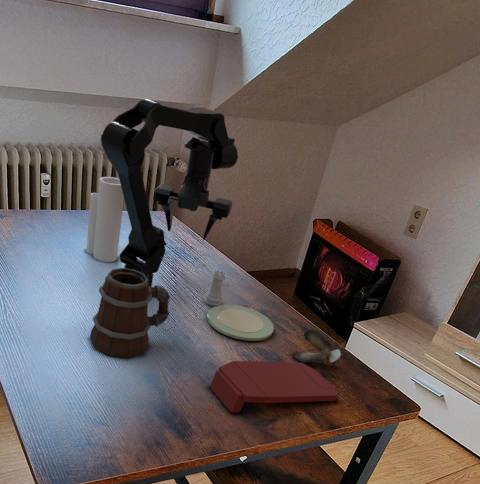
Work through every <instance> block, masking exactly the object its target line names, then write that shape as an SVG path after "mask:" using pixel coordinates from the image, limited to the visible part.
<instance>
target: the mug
mask: <svg viewBox="0 0 480 484" xmlns="http://www.w3.org/2000/svg"><path fill="white" fill-rule="evenodd" d="M98 292H99V294H100V296H101V298H100V301H99V307H98V311H97V313H96V314H95V315H94V316H92V321H93V323H94V325H93V327H92V328H91V331H90V336H89V337H90V341H91V343H92V345H93V348H94V349H96V350H98V351H100V352H102V353H103V354H104V355H106V356H109V357H116V358H124V359H125V358H126V359H129V358H132V357H136V356H140V355H143V354H144V352H145V350H146V349H147V348H148V346H149V340H150V338H149V334H148V332H149V330H150V329H151V327H153V326H155V327H159V326H161V325H162V324H163V323H165V322H166V320H167V319H168V318H169V315H170V311H169V300H170V299H171V297H170V294H169V292H168V291H167V289H166V288H165V287H163V286H162V285H158V284H156V285H154V286H153V287H150V286H149V283H148V279H147V278H146V276H145V275H144V274H143V273H141V272H139V271H136V270H134V269H127V268H124V267H119V268H112V269H111V270H110V271H109V272H108V273H107V275H106V276H105V279H104V281H103V284H102V285H101V286H100V287H99V288H98ZM153 298H155V299H156V300H157V301H158V309H157V310H156V313H154V314H153V313H152V315H151V316H149V315H148V311H149V303H150V302H151V301H152V299H153Z"/></svg>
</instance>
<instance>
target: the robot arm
mask: <svg viewBox="0 0 480 484" xmlns="http://www.w3.org/2000/svg"><path fill="white" fill-rule="evenodd" d="M143 122H144V124H143V126H142V127H141V128H140V129H139V130H138V129H135V128H136V127H138V126H139V125H142V123H143ZM159 126H162V127H168V128H173V129H177V130H183V131H186V132H188V133H190V134H192V135H193V136H192V137H191V138H190V140H188V141H187V142H186V143H184V146H183V147H184V148H186V149H188V150H189V155H188V162H187V166H186V170H185V175H184V180H183V182H182V184H181V186H180V189H179V191H176V186H173V185H169V184H164V183H161V184H160V185H158V186H157V187H156V188H155V189H154V191H153V197H152V198H153V199H152V200H154V201H155V202H157V205H159V206H161V207H162V209H163V211H164V215H165V220H166V227H167V231H168V232H170V231H171V230H172V225H173V219H174V211H175V209H174V208H175V201H177V203H176V206H177V208H179V209H184V210H188V211H190V212H196V211H197V210H198V208H199V207H202V208H205V209H210V210H211V213H210V214H209V216H208V221H207V223H206V226H205V230H204V233H203V237H202V240H203V241H205V240H206V238H207V236H209V233H210V231H211V229H212V228H213V226H214V225H215V223H216V221H217V220H218V221H220V220H222V219H225V218H228V217H229V216H230V214H231V212H232V208H233V201H232V200H230V199H225V198H221V197H217V198H215V200H213V199H212V200H211V199H210V191H209V190H208V188H209V183H210V178H211V173H212V170H222V169H231V168H233V167H234V166H236V163H237V162H238V158H239V153H238V148H237V147H236V145H235V138H234V137H231V136H229V134H228V129H227V126H226V122H225V115H224V114H223V113H220V112H218V111H214V110H212V109H208V108H206V107H201V106H196V107H195V106H194V107H191V108H188V109H185V108H180V107H177V106H172V105H167V104H163V103H160V102H156V101H154V100H150V99H148V98H144V99H141V100H139V101H138V102H137V103H136V104H135V106H133V107H131V108H129V109H128V110H125V111H124V112H122V113H120V114H118V115H117V116H116V117H115V118H114V119H113V120H112V121H111V122H110V123H108V124H107V125H106V126H105V127H104V129H103V132H102V134H101V135H100V143H101V147H102V149H103V152H104V154H105V156H106V158H107V160H108V161H109V163H110V164H111V165H112V166H113V168H114V170H116V173H117V175H118V179H119V180H120V184H121V188H122V192H123V196H124V203H125V207H126V211H127V215H128V219H129V223H130V228H131V229H130V231H129V234H128V243H127V244H126V246H125V247H124V248H123V249H122V251H121V252H120V253H119V261H120V263H122V264H124V265H123V266H124V267H123V268H127V269H134V270H136V271H139V272H141V273H143V274H144V275H145V276H146V278H147V279H148V283H149V286H150V287H152V285H153V280H154V274H156V273H158V271H159V270H160V269H159V268H160V266H161V264H162V261H163V259H164V257H165V254H166V246H167V242H166V240H165V233H164V229H161V228H159V226H158V227H157V226H156V225H154V224H153V220H152V214H151V210H150V206H149V201H148V195H147V192H146V187H145V183H144V178H143V177H144V176H143V173H142V165H143V163H144V160H145V156H146V151H145V150H146V148H147V147H148V146H149V145H150V144H151V143H152V142H153V139H154V137H155V132H156V129H157V128H158V127H159ZM194 136H197V137H198V138H196V137H194Z"/></svg>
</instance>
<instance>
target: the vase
mask: <svg viewBox="0 0 480 484" xmlns="http://www.w3.org/2000/svg"><path fill="white" fill-rule="evenodd" d="M89 199H90V201H89V211H88V212H89V214H88V225H87V226H88V227H87V238H86V250H85V251H86V253H87V254H89V255H92V257H93V258H94V259H95V260H98V261H100V262H104V263H111V262H116V261H117V260H118V253H119V244H120V237H121V236H120V235H121V228H122V226H121V225H122V218H123V209H124V202H125V200H124V196H123V192H122V188H121V184H120V180H119V177H113V176H102V177H99V182H98V192H91V193H90V198H89Z"/></svg>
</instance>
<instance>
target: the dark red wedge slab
mask: <svg viewBox="0 0 480 484" xmlns="http://www.w3.org/2000/svg"><path fill="white" fill-rule="evenodd" d="M209 389H210V390H211V391H212V392H213V393H214V394H215V396H216V397H217V398H218V399H219V400H220V401H221V402H222V404H223V406H225V407H226V409H227V410H229V412H230V413H240V412H241V410H242V408H243V406H244V404H245V403H259V404H260V403H261V404H262V403H263V404H264V403H265V404H272V403H273V404H274V403H275V404H276V403H278V404H279V403H307V402H308V403H309V402H310V403H311V402H313V403H314V402H336V401H337V399H338V398H339V394H338V393H339V392H338V391H337V388H336V387H335V386H333V384H331V383H330V382H329V381H328V380H327V379H326V378H325V377H324V376H322V375H321V374H320V373H319V372H317V370H316V369H314V367H313V368H312V367H311V366H309V365H307V364H305V363H304V362H296V361H295V362H294V361H293V362H291V361H251V360H249V361H248V360H244V361H243V360H232V361H230V362H228V363H226V364H223V365H221V366H218V370H216V371H215V372H214V376H213V378H212V380H211V382H210V385H209Z"/></svg>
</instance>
